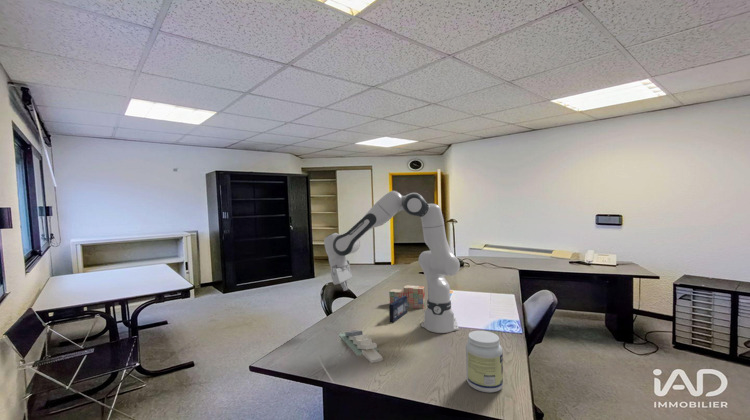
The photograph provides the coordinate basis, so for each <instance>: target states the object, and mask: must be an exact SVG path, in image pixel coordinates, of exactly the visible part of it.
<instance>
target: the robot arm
mask: <svg viewBox="0 0 750 420" xmlns="http://www.w3.org/2000/svg"><path fill="white" fill-rule="evenodd" d="M401 211H405V212H406V213H407V214H408V215H410V216H414V217H420V220H421V226H422V234H423V240H424V243H425V245H426V246H427V247H428V249H429V250H424V251H421V253H420V254H419V256H418V261H417V262H418V264H419V265H418V266H420V267H421V269H422V271H423V274H424V276H425V280H426V285H427V302H426V307H427V308H426V309H425V310H424V316H423V319H424V321H423V322H422V323H421V325H420V327H422V328H425V330H427V331H429V332H432V333H437V334H446V333H451V332H454V331H459V325H458V322H457V319H456V318H455V313H454V310H452V302H451V299H450V298H451V290H450V289H451V287H450V283H449V282H448V281H447V279H446V278H445V277H449V276H455V275H457V274H458V273H459V271H460V267H461V264H460V260H459V258H457V256H455V254H454V253H453V251H452V249H451V247H450V245H449V242H448V238H447V234H446V226H445V219H444V214H443V211H442V209H441V207H440V205H438V204H436V203H428V202H427V201H426V199H425V197H423V196H422V195H421V194H419V193H418V192H410V193H407V194H403V195H402V194H401V193H400V192H398V191H397V190H391V191H388V192H387V193H386V194H384V195H383V196H381V198H379V199H378V200H377V201H376V203H375V204H373V205H372V207H370V209H369V210H368V212H366V213H365V215H364V216H363V217H362V218H361V219H360V220H359V221H358V222H356V223H355V224H354V225H353V226H352V227H351V228H350V229H349V230H348V231H346V232H345V233H343V234H340V233H337V232H333V233H330V234H329V235H327V236H326V237H324V239H323V242H324V243H323V245H324V248H325V253H326V255H327V257H328V264H329V267H330V276H331V280H332V284H333V285H335V286H336V285H339V284H340V286H341V288H342V289H343V292H345V291H348V290H349V283H348V281H349V280H351V279H352V278H353V274H352V270H351V263H350V260H348V259H347V258H346V256H347V255H350V254H351V255H352V254H354V253H356V252H357V251H358V250H359V249H360V247H361V244H360V243H361V241H360V238H361V237H363V236H364V235H366V233H367V232H368V231H370V230H372V229H374V228H377V227H381V226H383V225H385V224H386V223H388V222H389V221H390V220H391V219H392V218H394V216H395V215H396V214H398V213H399V212H401Z"/></svg>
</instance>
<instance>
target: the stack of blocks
mask: <svg viewBox="0 0 750 420" xmlns="http://www.w3.org/2000/svg"><path fill="white" fill-rule="evenodd" d="M425 293H426V292H425V286H423V285H422V286H420V285H409V284H408V285H404V287H403V289H398V288H397V289H395V288H393V289H392V288H391V290H389V305H390V304H391V303H393V302H394V301H396V300H397V299H399V298H401V297H402V296H407V308H409V309H410V308H412V309H421V310H422V309H424V308H425V306H426V302H425V297H426V296H425Z"/></svg>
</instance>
